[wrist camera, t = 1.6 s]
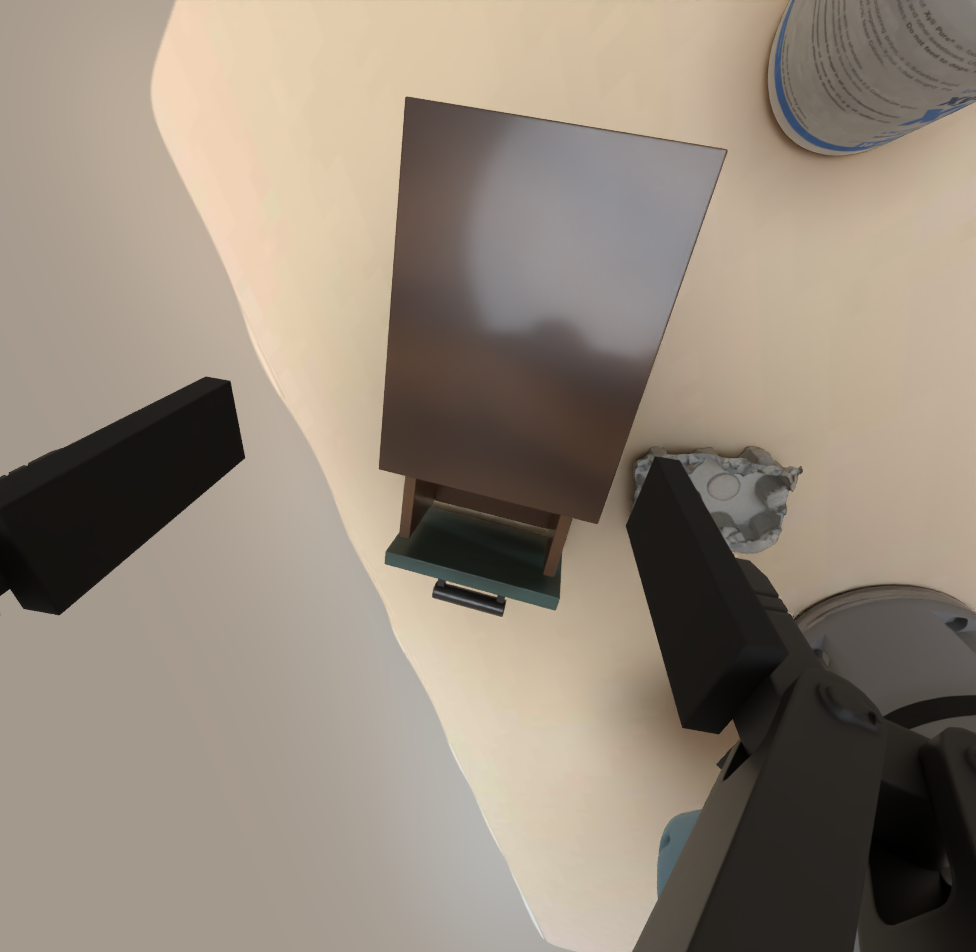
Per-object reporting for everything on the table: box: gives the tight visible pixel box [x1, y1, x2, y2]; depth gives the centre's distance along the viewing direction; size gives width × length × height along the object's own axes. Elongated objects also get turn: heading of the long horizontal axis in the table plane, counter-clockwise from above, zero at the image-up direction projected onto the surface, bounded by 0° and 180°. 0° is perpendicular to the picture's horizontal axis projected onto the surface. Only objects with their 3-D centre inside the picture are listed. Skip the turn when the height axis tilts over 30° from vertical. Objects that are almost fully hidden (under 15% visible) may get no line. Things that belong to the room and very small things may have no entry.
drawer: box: [385, 476, 572, 617], centre depth 31 cm, size 22×13×8 cm, turn 169°
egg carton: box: [630, 446, 803, 554], centre depth 32 cm, size 11×8×4 cm
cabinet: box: [379, 97, 727, 524], centre depth 27 cm, size 19×14×9 cm
